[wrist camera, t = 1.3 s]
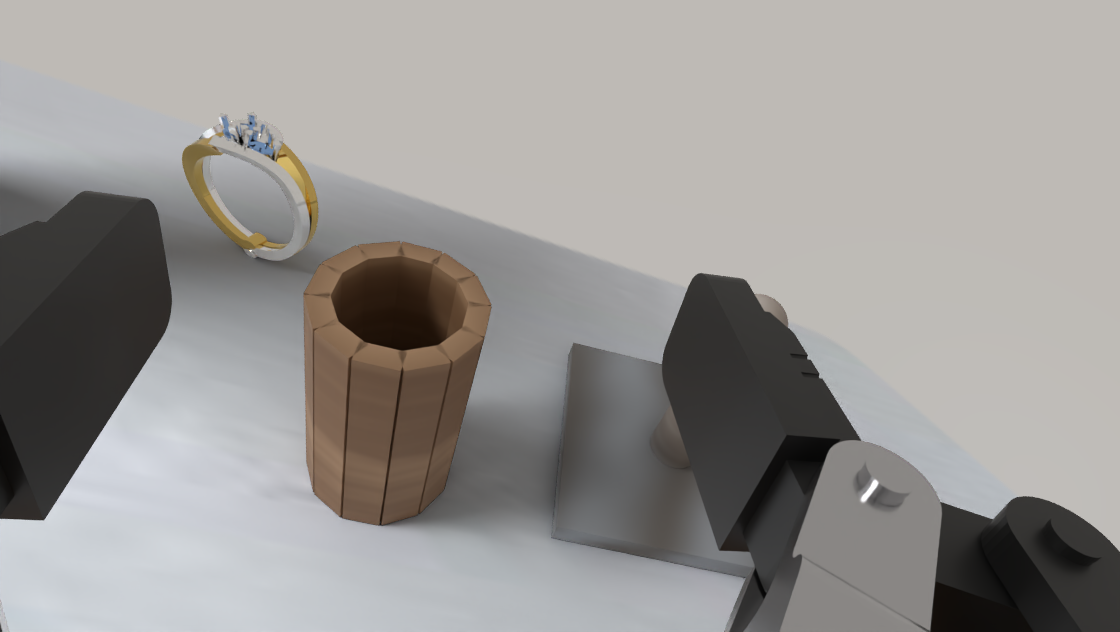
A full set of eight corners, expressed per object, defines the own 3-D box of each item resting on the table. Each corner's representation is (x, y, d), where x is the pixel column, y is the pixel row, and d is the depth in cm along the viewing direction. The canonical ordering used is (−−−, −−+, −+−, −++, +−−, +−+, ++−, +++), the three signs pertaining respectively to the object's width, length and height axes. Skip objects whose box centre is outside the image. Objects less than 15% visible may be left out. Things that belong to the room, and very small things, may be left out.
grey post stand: (551, 537, 28) (638, 376, 20) (568, 354, 36) (635, 189, 28) (783, 585, 29) (946, 450, 22) (750, 398, 37) (861, 252, 30)
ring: (327, 267, 36) (329, 141, 31) (286, 297, 34) (280, 167, 28) (228, 211, 37) (214, 81, 32) (181, 237, 35) (157, 101, 29)
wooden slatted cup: (286, 506, 26) (275, 342, 19) (335, 392, 30) (341, 226, 24) (433, 536, 27) (472, 387, 20) (460, 420, 31) (501, 266, 24)
